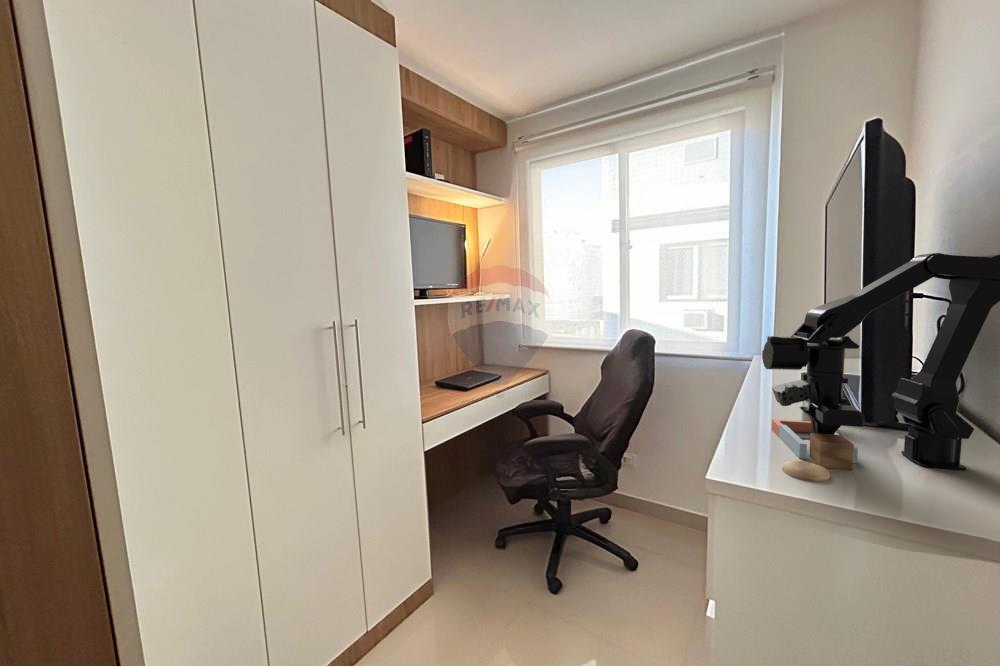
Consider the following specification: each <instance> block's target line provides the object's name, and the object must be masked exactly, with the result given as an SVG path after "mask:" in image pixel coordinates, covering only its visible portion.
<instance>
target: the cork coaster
mask: <svg viewBox="0 0 1000 667" xmlns="http://www.w3.org/2000/svg"><path fill="white" fill-rule="evenodd" d="M781 470H782V472H784V473H785V474H787V475H789V476H790V477H792V478H796V479H799V480H803V481H808V482H820V483H821V482H827V481H829V480H831V472H830V470H828V468H824V467H822V466H819V465H817V464H816V463H813V462H810V461H809V462H808V461H803V460H786V461H783V462H782V466H781Z"/></svg>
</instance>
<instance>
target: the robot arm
mask: <svg viewBox="0 0 1000 667" xmlns="http://www.w3.org/2000/svg"><path fill="white" fill-rule="evenodd" d="M933 278H936V279H939V280H940V279H941V280H948V281H949V284H948V289H949V294H950V298H951V303H950V305H949V308H948V310H947V312H946V314H945V316H944V318H943V321H942V323H941V325H940V327H939V330H938V332H937V334H936V336H935V339H934V341H933V343H932V345H931V347H930V349H929V350H928V353H927V356H926V358H925V359H924V363H923V365H922V367H921V368H920V371H919V372H918V373H917V374H916V375H914V377H912V378H910V379H907V378H904V377H901V378H900V379H899V380H898V383H897V387H896V389H895V391H894V392H893V393H892V394H891V396H890V397H892V398H893V402H892V405H893V407H894V409H895V410H896V412H898V414H899V415H901V418H902V420H903V423H905V424H909V425H910V426H909V425H908V430H907V431H908V432H907V433H906V434H905V435H904V444H903V446H904V447H903V450H901V452H900V454H902V455H903V456H905V457H907V458H908V459H909V460H911V461H913V462H914V463H916V464H918V465H919V466H920V467H928V468H938V469H939V468H940V469H951V470H963V471H966V470H967V468H968V467H967V466H966V465H963V464H962V463H961V454H962V444H963V440H968V439H970V437H971V436H972V434H973V432H974V430H975V428H974V427H973V426H972V425H971V424H970V423H968V421H966V420H965V419H964V418H962V417H961V416H960V415H959V414H958V413H957V412H958V408H959V404H960V396H959V391H958V387H957V382H958V380H959V377H960V375H961V374H962V371H963V369H964V366H965V365H966V363H967V361H968V359H969V356H970V354H971V352H972V350H973V348H974V346H975V344H976V341H977V340H978V338H979V336H980V333H981V331H982V329H983V326H985V323H986V320H987V319H988V317H989V315H990V312H991V310H992V309H993V307H995V306H996V305H997V304H998V303H1000V254H990V255H989V254H988V255H977V256H975V255H974V256H973V255H955V254H947V253H940V252H934V253H926V254H918V255H915V256H914V257H913V258H912V259H910V260H909V261H907V262H906V263H904V264H903V265H901V266H899V267H897V268H895V269H894V270H892V271H890V272H888V273H887V274H885V275H883V276H881V277H880V278H878V279H877V280H875V281H873V282H871V283H870V284H868V285H866V286H864V287H862V288H861V289H859V290H857V291H856V292H853V293H852V294H850V295H847V296H845V297H843V298H838V299H835V300H832V301H829V302H826V303H824V304H821V305H818V306H816V307H813V308H811V309H810V310H809V311H807V312H806V314H805V317H804V321H803V322H802V323H801V325H800V326H799V327H798V328H797V329H796V330H795V331H794V333H793V334H792V335H791V336H776V335H768V336H767V339H766V342H765V343H764V347H763V349H762V352H761V353H762V354H761V355H762V356H761V359H762V363H763V367H764V369H766V370H784V371H785V370H787V371H789V370H790V371H791V370H793V371H799V370H800V371H801V370H802V369H803V367H805V368H806V372H802V373H800V374H801V375H800V380H799V379H798V380H793V381H788V382H786V383H781V384H777V385H774V386H772V387H771V389H772V392H773V395H774V398H775V400H776V402H777V403H779V405H780V406H782V407H789V406H792V404H797V403H801V402H802V401H804V407H802V406H799V409H800V410H801V412H802V411H803V412H805V413H806V414H807V415H808V416H809V418H810V421H811V424H812V427H813V431H814V433H819V434H833V435H834V434H835V432H836V433H837V431H838V430H839V429H840V428H841V426H843V427H844V426H845V427H858V428H861V427H862V428H863V427H865V425H866V416H865V415H864V414H863V413H862V412H861V411H860V410H859V409H857V408H855V407H853V406H852V405H848V403H847V401H848V399H847V398H845V397H844V396H843V393H844V392H843V391H844V390H843V389H844V384H849V383H848V382H849V378H848V377H845V376H844V374H845V359H846V358H845V357H846V356H845V355H846V350H847V349H849V350H855V349H856V350H858V349H859V348H860V345H859V344H858V343H856V342H854V340H852V338H850V336H849V335H848V336H847V334H849V333H850V332H852V331H853V330H854V329H855V328H857V327H858V326H860V325H861V323H863V321H864V320H865V319H866V317H867V316H868V315H869V314H870V313H872V312H874V311H875V310H877V309H878V308H881V307H882V306H884V305H885V304H888V303H890V302H891V301H893V300H895V299H896V298H899V297H900V296H902V295H904V294H906V293H907V292H909V291H911V290H913V289H915V288H916V287H918V286H920V285H922V284H924V283H926V282H927V281H929V280H931V279H933Z"/></svg>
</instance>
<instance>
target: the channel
mask: <svg viewBox="0 0 1000 667" xmlns="http://www.w3.org/2000/svg"><path fill="white" fill-rule="evenodd" d="M834 435H840V434H839V433H838V432H837V431H836V432H835V434H834ZM778 438H779V439H780V440H781V441H782V442H783V444H785V445H786V446H787V448H789V449H790V450H791V452H793V454H794V455H795V456H796V457H797V458H798V459H803V460H804V459H805V460H807V452H808V451H807V450H808V443H806V442H805V441H804V439H801V438H800V437H798V436H797V435H796V434H795V433H794V432H793V431H792V430H791V429H790V428H789V427H788V426H786V425H780V427H779V437H778ZM858 454H859V448H858V447H857V446H855V445H854V447H853V463H854V464H858Z"/></svg>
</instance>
